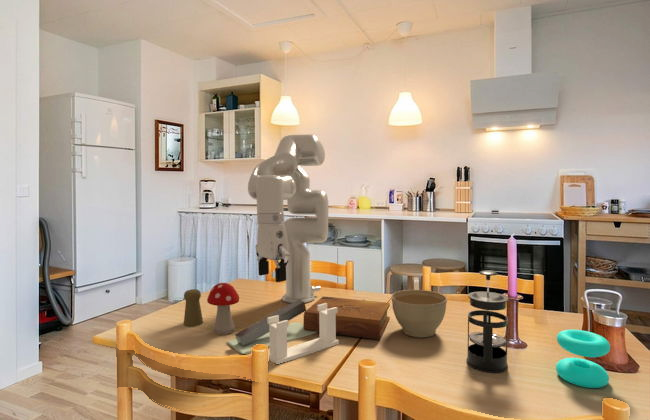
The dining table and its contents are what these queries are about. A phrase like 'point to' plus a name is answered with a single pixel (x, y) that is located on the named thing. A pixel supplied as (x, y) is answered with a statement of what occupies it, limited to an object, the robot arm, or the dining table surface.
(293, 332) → the mat
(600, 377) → the donuts
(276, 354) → the rack
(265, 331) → the rail
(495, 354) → the french press
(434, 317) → the planter bowl
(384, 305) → the diary
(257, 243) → the robot arm
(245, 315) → the dining table surface
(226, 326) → the decorative mushroom
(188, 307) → the cork
